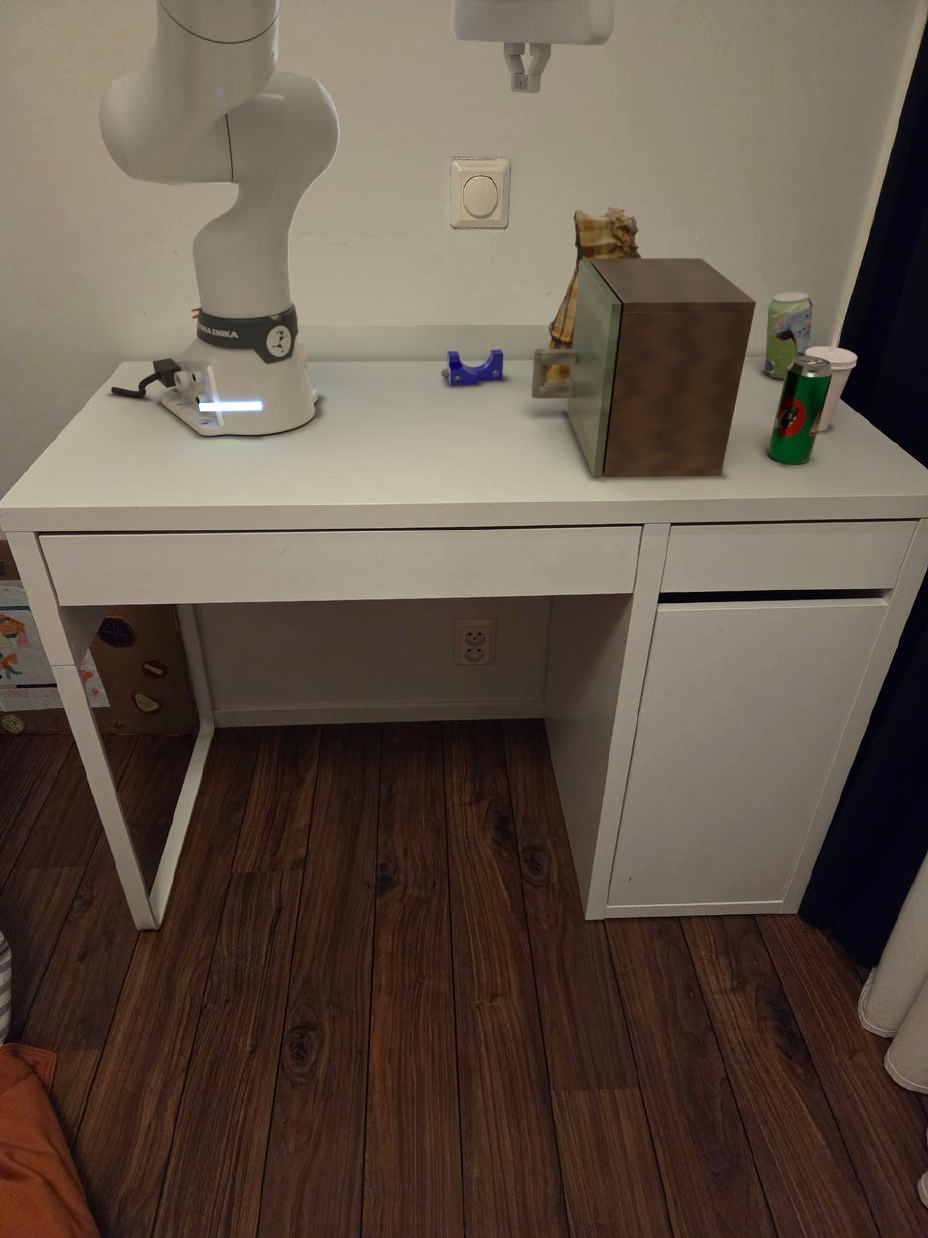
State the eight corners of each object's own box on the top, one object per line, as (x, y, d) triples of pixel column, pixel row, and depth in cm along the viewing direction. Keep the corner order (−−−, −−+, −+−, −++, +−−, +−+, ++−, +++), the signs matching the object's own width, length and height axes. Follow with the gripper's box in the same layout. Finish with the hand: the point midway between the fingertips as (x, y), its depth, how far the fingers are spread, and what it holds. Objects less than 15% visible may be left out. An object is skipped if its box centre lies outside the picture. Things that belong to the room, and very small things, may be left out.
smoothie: (839, 421, 115) (869, 315, 106) (835, 438, 110) (866, 329, 102) (790, 413, 117) (816, 309, 109) (784, 430, 112) (810, 322, 104)
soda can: (811, 468, 102) (838, 370, 95) (768, 464, 103) (791, 366, 96) (806, 451, 106) (831, 356, 100) (765, 447, 107) (786, 352, 100)
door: (548, 477, 99) (561, 303, 88) (528, 413, 115) (536, 259, 104) (601, 477, 99) (621, 303, 88) (574, 412, 116) (587, 259, 104)
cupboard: (603, 478, 100) (624, 302, 88) (575, 413, 116) (589, 258, 104) (720, 476, 100) (756, 301, 89) (676, 412, 117) (701, 258, 105)
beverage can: (810, 382, 127) (831, 299, 120) (761, 382, 127) (779, 299, 120) (797, 368, 132) (816, 288, 125) (750, 368, 132) (766, 287, 125)
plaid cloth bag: (546, 352, 134) (559, 186, 115) (634, 362, 132) (661, 195, 113) (533, 403, 125) (544, 231, 106) (627, 414, 123) (655, 241, 104)
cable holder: (450, 386, 124) (450, 359, 122) (447, 377, 127) (447, 351, 125) (504, 383, 125) (505, 356, 123) (499, 375, 128) (500, 349, 126)
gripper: (439, -62, 92) (439, 88, 100) (594, -71, 81) (581, 98, 89) (477, -58, 96) (474, 86, 104) (630, -66, 85) (614, 95, 93)
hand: (525, 92), depth 97 cm, fingers closed
